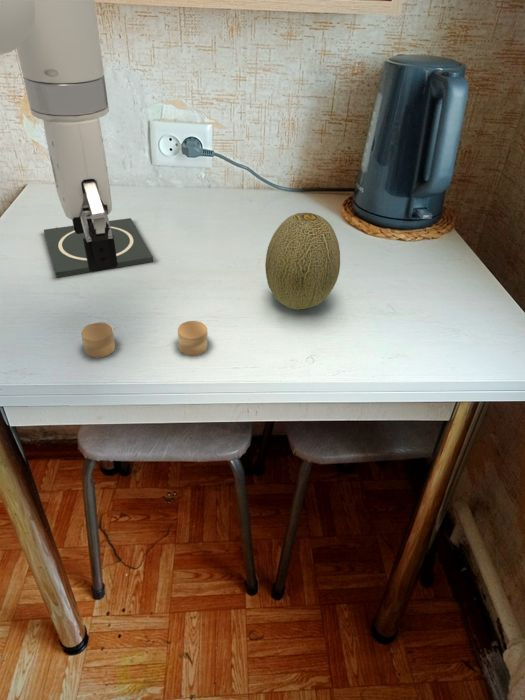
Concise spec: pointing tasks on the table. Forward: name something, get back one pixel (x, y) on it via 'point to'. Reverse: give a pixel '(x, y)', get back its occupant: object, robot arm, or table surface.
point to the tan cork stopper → (192, 337)
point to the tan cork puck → (98, 340)
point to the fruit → (302, 261)
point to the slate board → (71, 249)
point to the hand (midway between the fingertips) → (95, 249)
